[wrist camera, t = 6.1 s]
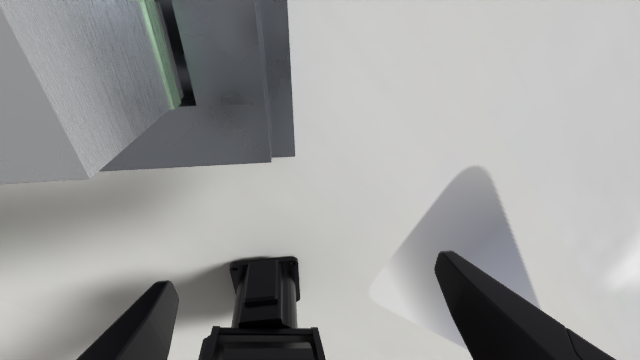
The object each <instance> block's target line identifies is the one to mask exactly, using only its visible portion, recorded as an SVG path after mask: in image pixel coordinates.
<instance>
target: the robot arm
mask: <svg viewBox="0 0 640 360" xmlns="http://www.w3.org/2000/svg"><path fill="white" fill-rule="evenodd" d="M235 267H236V268H235ZM230 273H231V277H232V281H233V285H234V289H235V293H236V301H235V307H234V313H233V320H232V326H231V328H222V327H220V326H213V328H212V332H211V335H210V336H208V337H207V338H205V339H203V343H202V347H201V351H200V355H199V359H198V360H326V359H325V355H324V351H323V347H322V343H321V339H320V335H319V331H318V328H317V327H311V328H297V309H296V302H297V301H299V300H300V289H299V272H298V259H297V258H295V257H289V258H277V259H266V260H255V261H243V262H234V263H232V264H231V265H230ZM435 274H436V277H437V279H438V282H439V285H440V287H441V290H442V293H443V295H444V298H445V301H446V303H447V306H448V308H449V311H450V313H451V316H452V318H453V320H454V322H455V324H456V326H457V328H458V330H459V332H460V334H461V336H462V338H463V340H464V342H465V344H466V346H467V348H468V350H469V352H470V354H471V356H472V358H473V360H616V359H614V358H613V357H611V356H609V355H608V354H606V353H605V352H603V351H602V350H600V349H599V348H597V347H595V346H594V345H592V344H591V343H589V342H588V341H586V340H585V339H583V338H582V337H580V336H579V335H577V334H576V333H574V332H573V331H571V330H570V329H568V328H565V326H564V325H562V324H561V323H559V322H558V321H556V320H555V319H553V318H552V317H550V316H549V315H547V314H546V313H544V312H543V311H541V310H540V309H538V308H537V307H535V306H534V305H532V304H531V303H529V302H528V301H526V300H525V299H524V298H522V297H521V296H519V295H518V294H516V293H514V292H513V291H511V290H510V289H509V288H507V287H506V286H504V285H503V284H501V283H500V282H498V281H497V280H495V279H493V278H492V277H491V276H489V275H488V274H486V273H485V272H483V271H482V270H480V269H479V268H477V267H476V266H474V265H473V264H471V263H470V262H468V261H467V260H466V259H464V258H463V257H461V256H459V255H458V254H457V253H455V252H453V251H441V252H440V253H439V254H438V257H437V261H436V264H435ZM178 303H179V298H178V295H177V292H176V290H175V288H174V286H173V284H172V282H171V281H169V280H167V281H158V282H156V283H154V284H153V285H152V286H151V287H150V288H149V289H148V290H147V291H146V292H145V293H144V294H143V295H142V296H141V297H140V298H139V299H138V300H137V301H136V302H135V303H134V304H133V305H132V306H131V307H130V308H129V309H128V310H127V311H126V312H124V313H123V314H122V315H121V316H120V317H119V318H118V319H117V320H116V321H115V322H114V323H113V324H112V325H111V326H110V327H109V328H108V329H107V330H106V331H105V332H104V333H103V334H102V335H101V336H100V337H99V338H98V339H97V340H96V341H95V342H94V343H93V344H92V345H91V346H90V347H89V348H88V349H87V350H86V351H85V352H84V353H83V354H82V355H80V356H79V357H78V358H77V359H76V360H167V357H168V354H169V349H170V345H171V340H172V334H173V329H174V324H175V319H176V314H177V308H178Z"/></svg>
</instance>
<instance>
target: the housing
mask: <svg viewBox="0 0 640 360" xmlns="http://www.w3.org/2000/svg"><path fill="white" fill-rule="evenodd" d="M154 1H155V2H160V6H161V10H162V14H163V18H164V21H165V25H166V29H167V33H168V37H169V41H170V45H171V49H172V52H173V56H174V60H175V64H176V68H177V72H178V76H179V80H180V83H181V87H182V91H183V95H184V97H183V98H182V99H181V104H180V105H179V106H178V107H177V108H176V109H174V110H168V111H167V112H166V113H165V114H164V115H162V116H161V117H160V118H159V119H158V120H157V121H156V122H154V123H153V124H152V125H151V126H150V127H149V128H148V129H146V130H145V131H144V132H143V133H142V134H141V135H140V136H138V137H137V138H136V139H135V140H134V141H133V142H132V143H130V144H129V145H128V146H127V147H126V148H125V149H124V150H122V151H121V152H120V153H119V154H118V155H117V156H116V157H114V158H113V159H112V160H111V161H110V162H109V163H108V164H106V165H105V166H104V167H103V168H102V169H101V170H100V171H117V170H135V169H154V168H173V167H192V166H211V165H229V164H248V163H267V162H271V159H272V158H273V157H293V156H295V145H294V125H293V106H292V86H291V67H290V47H289V28H288V9H287V0H154Z"/></svg>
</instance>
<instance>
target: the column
mask: <svg viewBox="0 0 640 360" xmlns="http://www.w3.org/2000/svg"><path fill="white" fill-rule="evenodd" d="M183 97H184V95H183V91H182V87H181V83H180V80H179V76H178V72H177V68H176V64H175V60H174V56H173V52H172V49H171V45H170V41H169V37H168V33H167V29H166V25H165V21H164V18H163V14H162V10H161V6H160V2H155V1H154V0H0V184H10V183H28V182H46V181H64V180H82V179H90V178H91V177H93V176H94V175H95V174H96V173H97V172H98V171H100V170H101V169H102V168H103V167H104V166H105V165H106V164H108V163H109V162H110V161H111V160H112V159H113V158H114V157H116V156H117V155H118V154H119V153H120V152H121V151H122V150H124V149H125V148H126V147H127V146H128V145H129V144H130V143H132V142H133V141H134V140H135V139H136V138H137V137H138V136H140V135H141V134H142V133H143V132H144V131H145V130H146V129H148V128H149V127H150V126H151V125H152V124H153V123H154V122H156V121H157V120H158V119H159V118H160V117H161V116H162V115H164V114H165V113H166V112H167V111H168V110H174V109H176V108H177V107H178V106H179V105H180V104H181V99H182V98H183Z"/></svg>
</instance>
